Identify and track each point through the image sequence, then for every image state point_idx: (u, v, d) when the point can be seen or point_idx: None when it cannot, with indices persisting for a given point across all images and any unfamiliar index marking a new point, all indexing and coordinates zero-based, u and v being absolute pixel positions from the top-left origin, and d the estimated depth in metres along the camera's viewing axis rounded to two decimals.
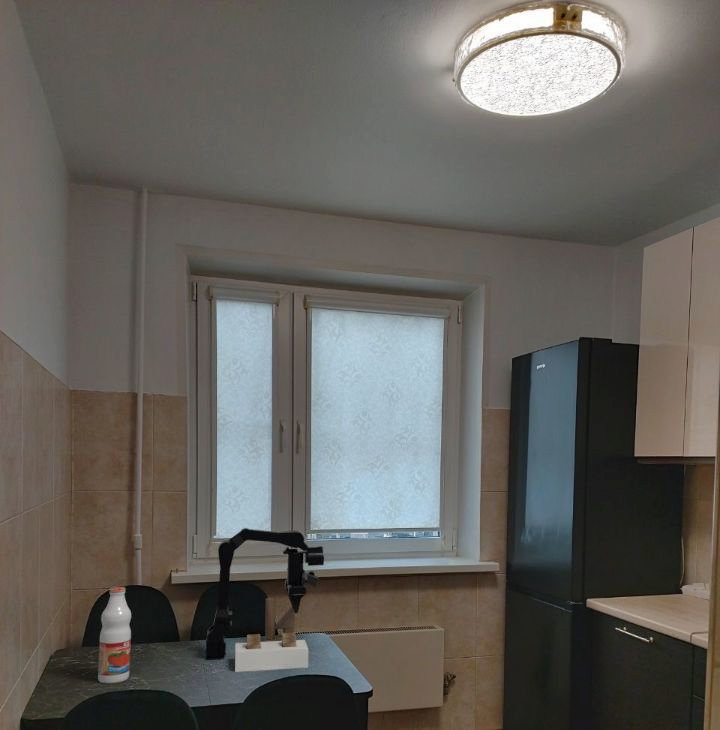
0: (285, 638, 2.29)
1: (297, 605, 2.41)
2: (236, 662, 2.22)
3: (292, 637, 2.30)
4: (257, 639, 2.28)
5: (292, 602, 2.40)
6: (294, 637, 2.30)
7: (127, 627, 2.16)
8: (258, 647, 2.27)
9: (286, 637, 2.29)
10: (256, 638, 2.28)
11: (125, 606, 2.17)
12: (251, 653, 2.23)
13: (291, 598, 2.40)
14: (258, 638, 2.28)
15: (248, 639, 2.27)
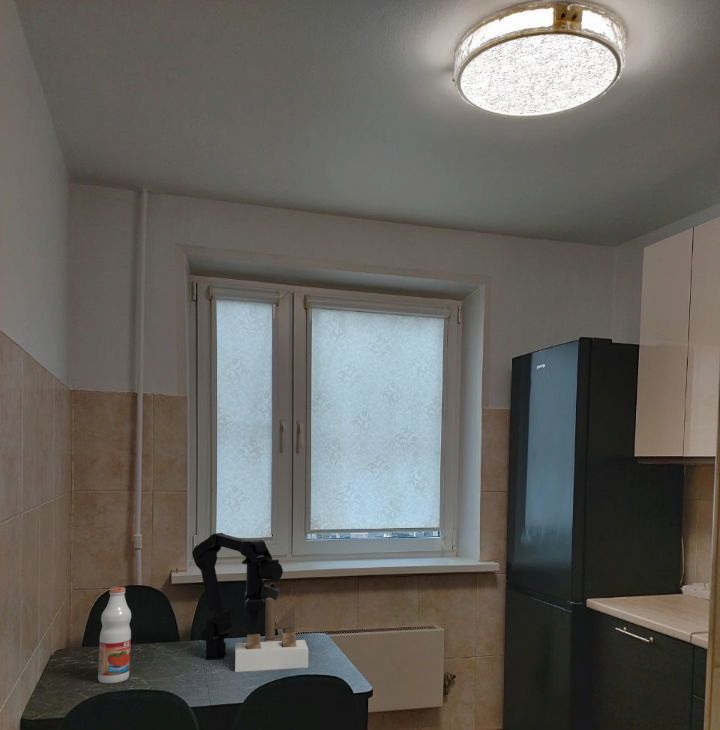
0: (285, 638, 2.29)
1: (255, 619, 2.27)
2: (236, 662, 2.22)
3: (292, 637, 2.30)
4: (257, 639, 2.28)
5: (250, 615, 2.27)
6: (294, 637, 2.30)
7: (127, 627, 2.16)
8: (258, 647, 2.27)
9: (286, 637, 2.29)
10: (256, 638, 2.28)
11: (125, 606, 2.17)
12: (251, 653, 2.23)
13: (248, 611, 2.26)
14: (258, 638, 2.28)
15: (248, 639, 2.27)
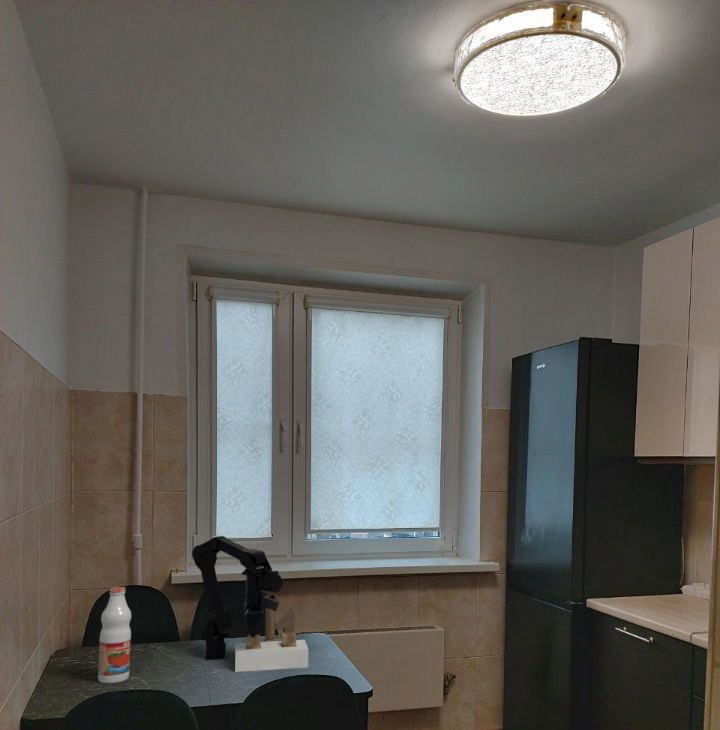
0: (285, 638, 2.29)
1: (254, 628, 2.29)
2: (236, 662, 2.22)
3: (292, 637, 2.30)
4: (257, 640, 2.28)
5: (249, 625, 2.28)
6: (294, 637, 2.30)
7: (127, 627, 2.16)
8: (258, 648, 2.27)
9: (286, 637, 2.29)
10: (256, 639, 2.28)
11: (125, 606, 2.17)
12: (251, 653, 2.23)
13: (248, 621, 2.28)
14: (258, 639, 2.28)
15: (248, 640, 2.27)
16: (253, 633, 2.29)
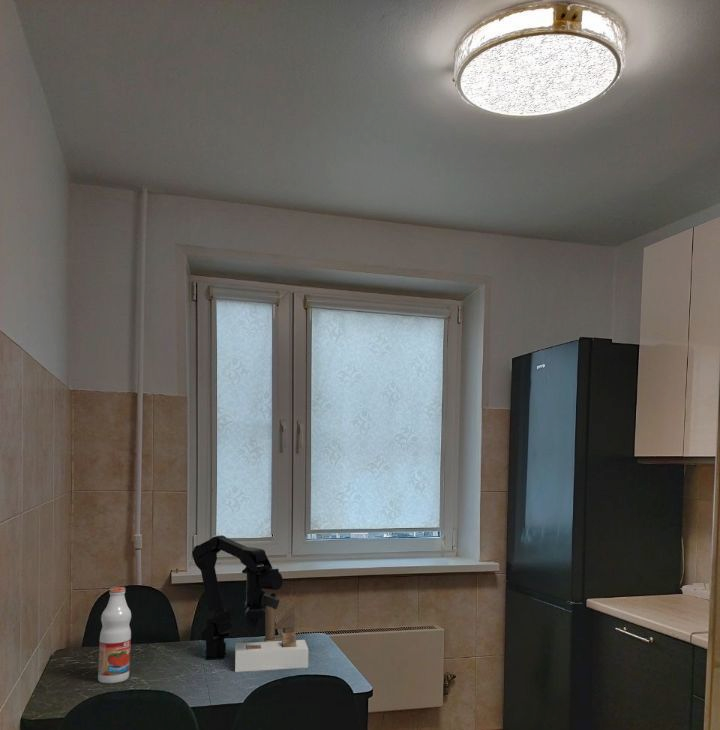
0: (285, 638, 2.29)
1: (255, 626, 2.29)
2: (236, 662, 2.22)
3: (292, 637, 2.30)
4: None
5: (250, 623, 2.28)
6: (294, 637, 2.30)
7: (127, 627, 2.16)
8: None
9: (286, 637, 2.29)
10: None
11: (125, 606, 2.17)
12: (251, 653, 2.23)
13: (248, 619, 2.28)
14: None
15: None
16: (254, 631, 2.29)
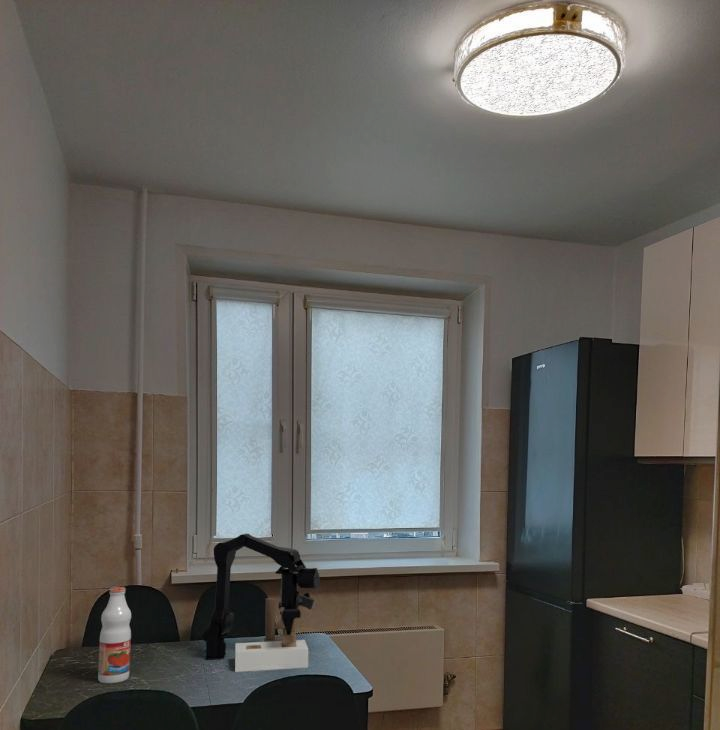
0: (285, 638, 2.29)
1: (290, 626, 2.31)
2: (236, 662, 2.22)
3: (292, 637, 2.30)
4: None
5: (284, 623, 2.31)
6: (294, 637, 2.30)
7: (127, 627, 2.16)
8: None
9: (286, 637, 2.29)
10: None
11: (125, 606, 2.17)
12: (251, 653, 2.23)
13: (283, 619, 2.30)
14: None
15: None
16: (288, 631, 2.31)
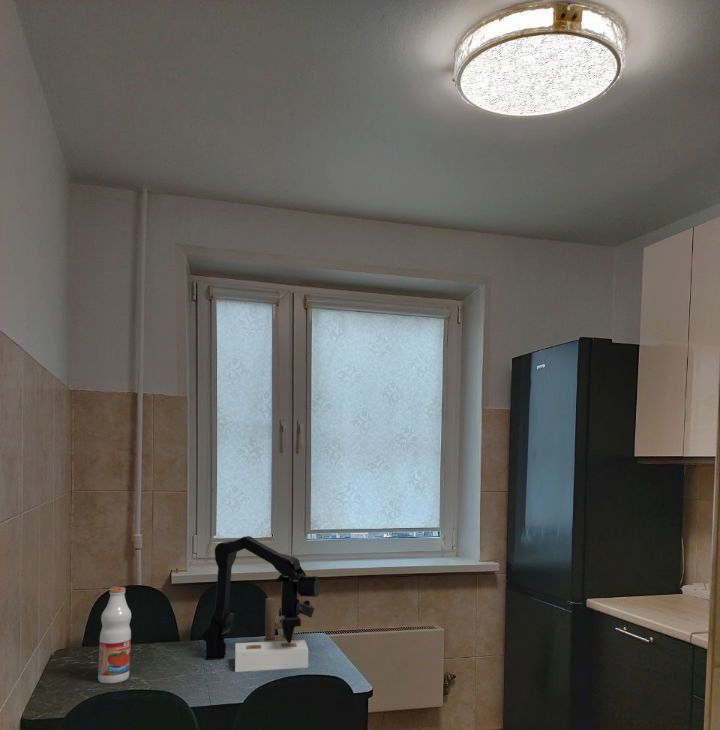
0: None
1: (290, 634, 2.31)
2: (236, 662, 2.22)
3: None
4: None
5: (285, 631, 2.30)
6: None
7: (127, 627, 2.16)
8: None
9: None
10: None
11: (125, 606, 2.17)
12: (251, 653, 2.23)
13: (284, 627, 2.30)
14: None
15: None
16: (289, 639, 2.31)
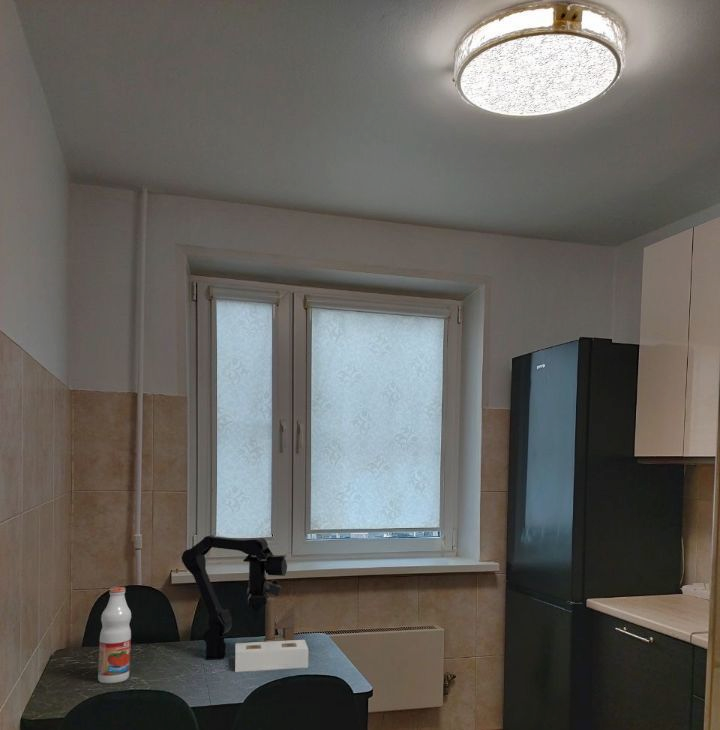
0: None
1: (257, 613, 2.36)
2: (236, 662, 2.22)
3: None
4: None
5: (252, 610, 2.36)
6: None
7: (127, 627, 2.16)
8: None
9: None
10: None
11: (125, 606, 2.17)
12: (251, 653, 2.23)
13: (251, 605, 2.36)
14: None
15: None
16: (256, 617, 2.37)
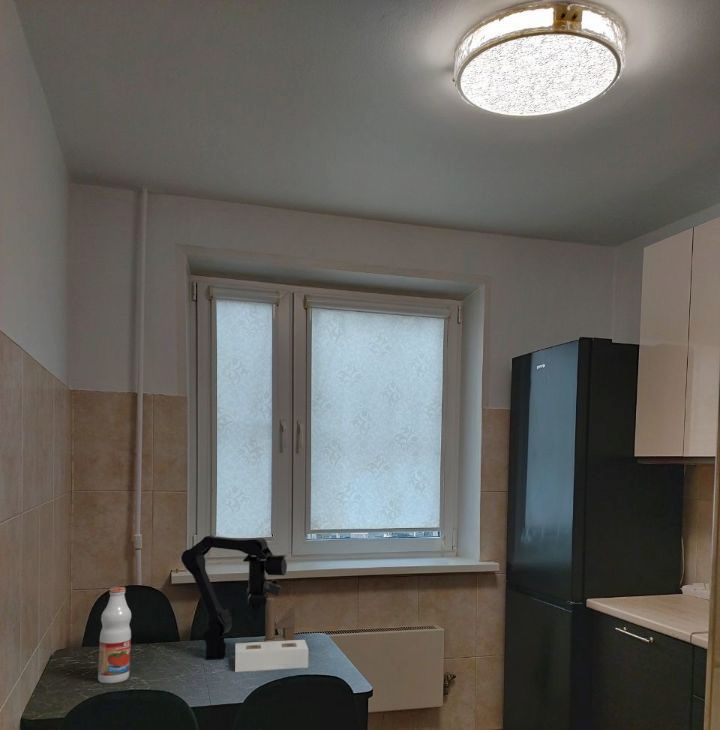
0: None
1: (257, 612, 2.36)
2: (236, 662, 2.22)
3: None
4: None
5: (252, 609, 2.36)
6: None
7: (127, 627, 2.16)
8: None
9: None
10: None
11: (125, 606, 2.17)
12: (251, 653, 2.23)
13: (251, 605, 2.36)
14: None
15: None
16: (256, 617, 2.37)
